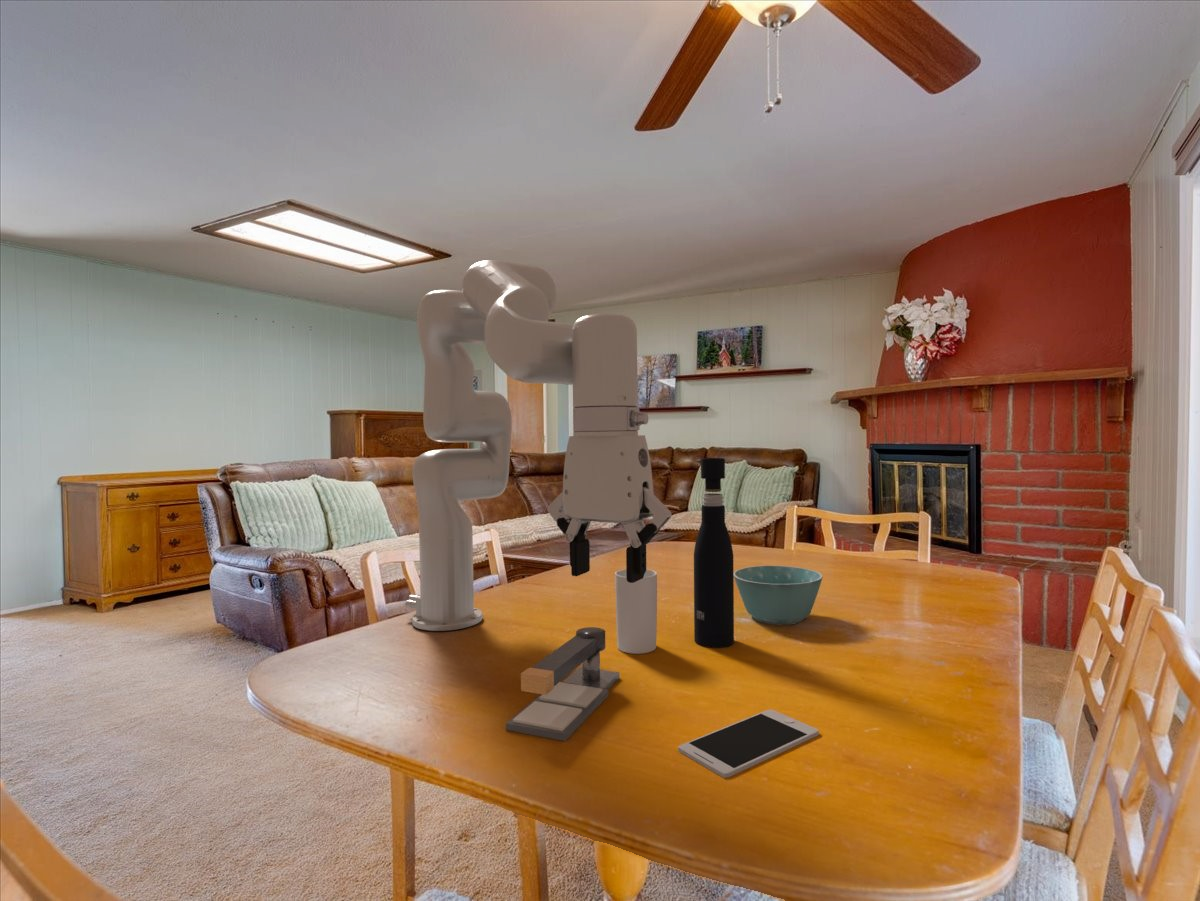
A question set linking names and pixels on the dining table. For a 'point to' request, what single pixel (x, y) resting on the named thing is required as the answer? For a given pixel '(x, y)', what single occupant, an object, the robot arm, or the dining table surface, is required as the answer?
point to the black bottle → (713, 565)
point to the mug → (636, 612)
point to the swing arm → (562, 661)
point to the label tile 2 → (575, 696)
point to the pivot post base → (593, 674)
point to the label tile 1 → (547, 720)
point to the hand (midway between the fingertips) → (607, 575)
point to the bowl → (778, 592)
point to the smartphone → (747, 742)
